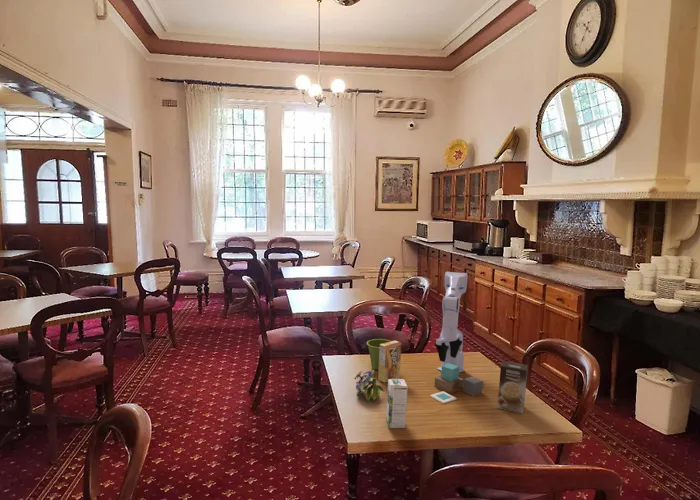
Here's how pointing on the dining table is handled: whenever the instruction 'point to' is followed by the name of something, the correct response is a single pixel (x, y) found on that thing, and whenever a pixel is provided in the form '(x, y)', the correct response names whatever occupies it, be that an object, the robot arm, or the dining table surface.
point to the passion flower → (365, 382)
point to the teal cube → (450, 372)
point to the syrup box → (396, 403)
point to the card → (443, 397)
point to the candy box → (389, 361)
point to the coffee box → (512, 386)
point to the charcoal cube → (473, 386)
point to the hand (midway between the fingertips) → (447, 359)
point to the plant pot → (375, 351)
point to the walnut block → (448, 384)
